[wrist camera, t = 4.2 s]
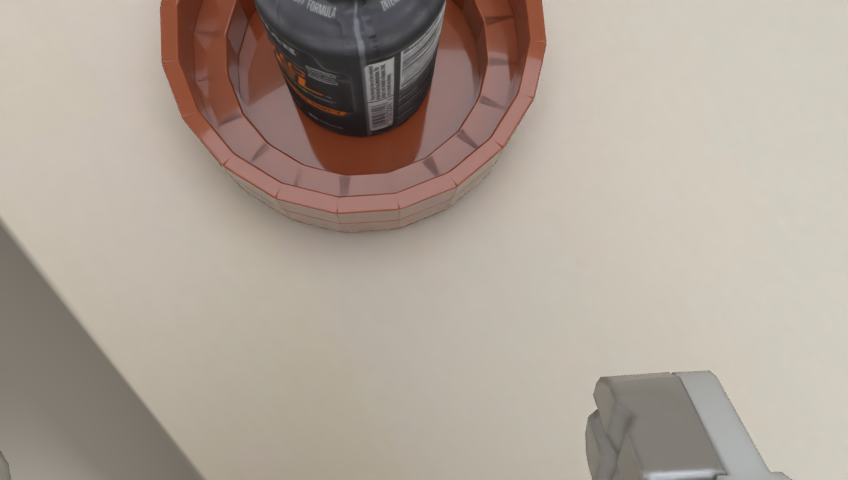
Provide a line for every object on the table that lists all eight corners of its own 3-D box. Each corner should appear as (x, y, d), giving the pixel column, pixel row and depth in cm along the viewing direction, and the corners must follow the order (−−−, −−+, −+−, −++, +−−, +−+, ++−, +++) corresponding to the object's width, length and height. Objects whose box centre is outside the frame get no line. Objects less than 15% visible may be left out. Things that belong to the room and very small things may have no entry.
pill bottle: (256, 47, 28) (168, -151, 17) (380, -27, 29) (376, -264, 17) (338, 168, 27) (304, 49, 16) (462, 90, 28) (512, -76, 17)
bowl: (338, 301, 27) (328, 294, 23) (129, 51, 28) (80, -3, 24) (585, 94, 29) (621, 49, 24) (380, -134, 30) (378, -218, 25)
